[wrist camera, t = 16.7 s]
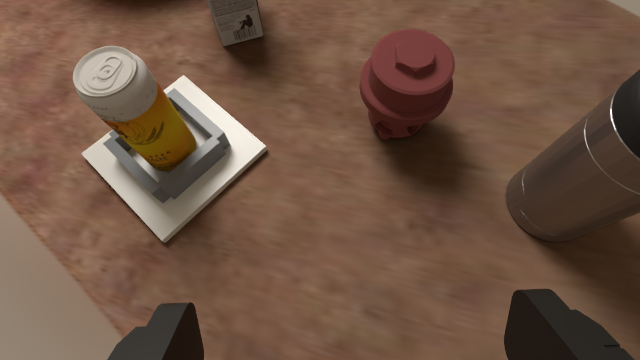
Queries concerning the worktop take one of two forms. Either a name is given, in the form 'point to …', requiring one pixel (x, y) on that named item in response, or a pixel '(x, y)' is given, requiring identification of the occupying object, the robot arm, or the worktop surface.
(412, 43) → the mechanical component
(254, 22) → the coffee box
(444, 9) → the worktop surface
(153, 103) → the beer can
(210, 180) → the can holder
